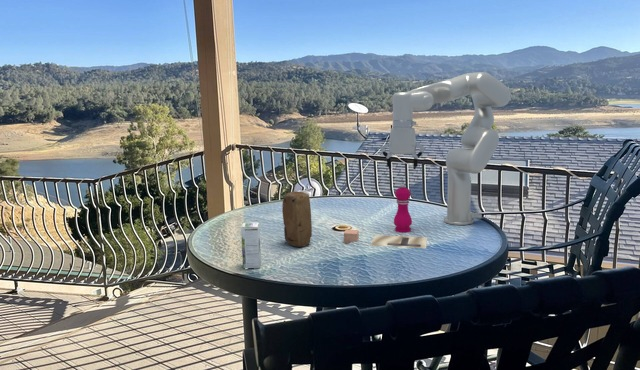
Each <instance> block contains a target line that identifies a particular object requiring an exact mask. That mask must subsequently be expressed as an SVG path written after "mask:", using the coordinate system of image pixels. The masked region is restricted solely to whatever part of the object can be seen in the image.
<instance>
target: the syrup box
mask: <svg viewBox="0 0 640 370" xmlns="http://www.w3.org/2000/svg"><path fill="white" fill-rule="evenodd" d="M240 232H241V233H240V236H241V251H242V252H241V253H242V255H241V256H242V269H243V268H254V269H261V263H262V260H261V259H262V258H261V257H262V256H261V252H262V251H261V233H260V223H259V222H257V221H254V222H253V221H251V222H250V221H249V222H244V223H242V225H241V228H240Z"/></svg>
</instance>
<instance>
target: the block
mask: <svg viewBox="0 0 640 370" xmlns="http://www.w3.org/2000/svg"><path fill="white" fill-rule="evenodd" d="M281 205H282V209H281V210H282V212H281V213H282V220H283V225H284V228H283V229H284V230H283V233H284V235H283V236H284V240H285V242H286V243H288V244H289V245H290V246H293V247H295V248H296V247H297V248H302V247H307V246H309V244H310V242H311V238H312V234H313V233H312V232H313V231H312V230H313V229H312V228H313V227H312V211H311V200H310V194H309V195H308V194H307V193H304V192H298V190H295V191H290V192H288V193H286V194H285V195H284V197H283V200H282V204H281Z"/></svg>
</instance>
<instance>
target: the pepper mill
mask: <svg viewBox="0 0 640 370" xmlns="http://www.w3.org/2000/svg"><path fill="white" fill-rule="evenodd" d="M394 195H395V197H396V204H397V211H396V214H395V216H394V218H393V224H394V226H395V228H394V231H395V232H397V233H410V232H412V231H411V230H412V228H411V226H412V225H413V221H412V220H413V219H412V216H411V214H410V212H409V203H410V197H411V190H410V189H409V188H407V187H406V184H405V183H401V184H400V187H399V188H397V189H396V190H395V193H394Z"/></svg>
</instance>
